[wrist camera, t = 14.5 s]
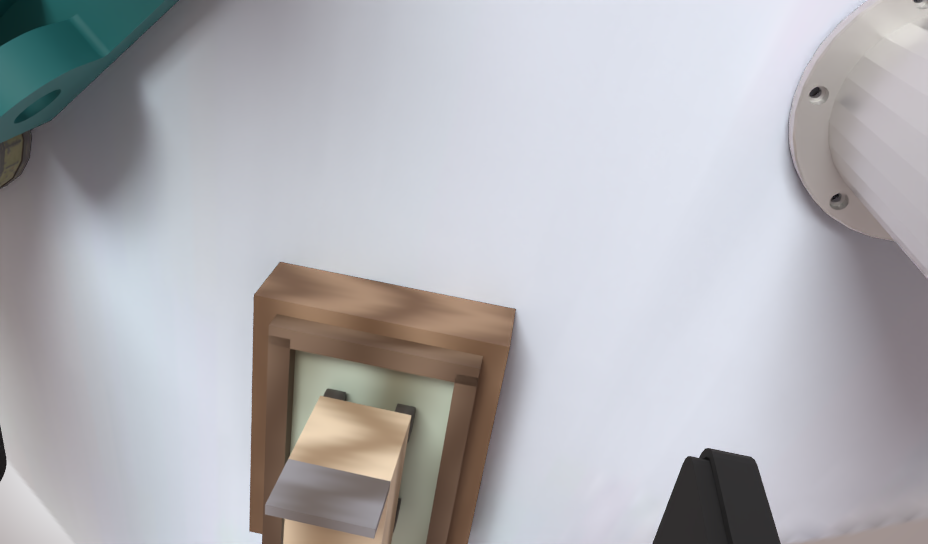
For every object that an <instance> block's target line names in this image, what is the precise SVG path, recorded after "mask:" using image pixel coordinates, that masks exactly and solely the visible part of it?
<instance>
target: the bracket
mask: <svg viewBox="0 0 928 544" xmlns="http://www.w3.org/2000/svg"><path fill="white" fill-rule="evenodd" d="M178 1H179V0H0V143H2V142H4V141H7V140H9V139H11V138H13V137H15V136H18V135H20V134H22V133H24V132H26V131H28V130H31V129H33V128H35V127H37V126H39V125H42V124H44V123H46V122H48V121H50V120H52V119H53V118H54V117H55V116H56V115H57V114H58V113H59V112H61V111H62V110H63V109H64V108H65V107H66V106H67V105H68V104H69V103H70V102H71V101H72V100H73V99H74V98H75V97H76V96H78V95H79V94H80V93H81V92H82V91H83V90H84V89H85V88H86V87H87V86H88V85H89V84H90V83H91V82H92V81H94V80H95V79H96V78H97V77H98V76H99V75H100V74H101V73H102V72H103V71H104V70H105V69H106V68H107V67H108V66H109V65H111V64H112V63H113V62H114V61H115V60H116V59H117V58H118V57H119V56H120V55H121V54H122V53H123V52H124V51H125V50H126V49H128V48H129V47H130V46H131V45H132V44H133V43H134V42H135V41H136V40H137V39H138V38H139V37H140V36H141V35H142V34H144V33H145V32H146V31H147V30H148V29H149V28H150V27H151V26H152V25H153V24H154V23H155V22H156V21H157V20H158V19H159V18H161V17H162V16H163V15H164V14H165V13H166V12H167V11H168V10H169V9H170V8H171V7H172V6H173V5H174V4H175V3H176V2H178Z"/></svg>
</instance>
